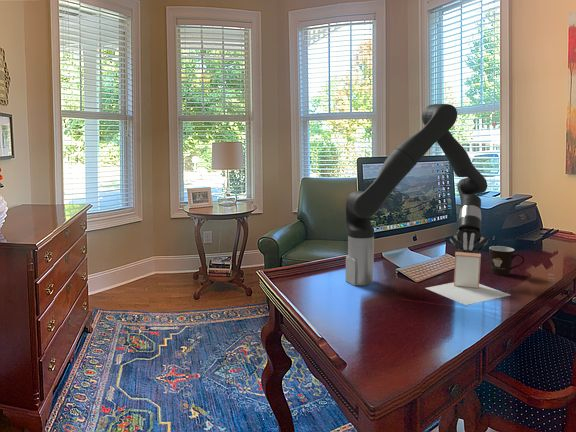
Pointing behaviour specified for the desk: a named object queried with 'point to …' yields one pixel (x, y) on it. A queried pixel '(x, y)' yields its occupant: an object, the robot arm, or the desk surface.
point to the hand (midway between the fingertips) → (467, 261)
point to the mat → (467, 293)
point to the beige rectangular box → (467, 269)
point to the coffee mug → (502, 260)
